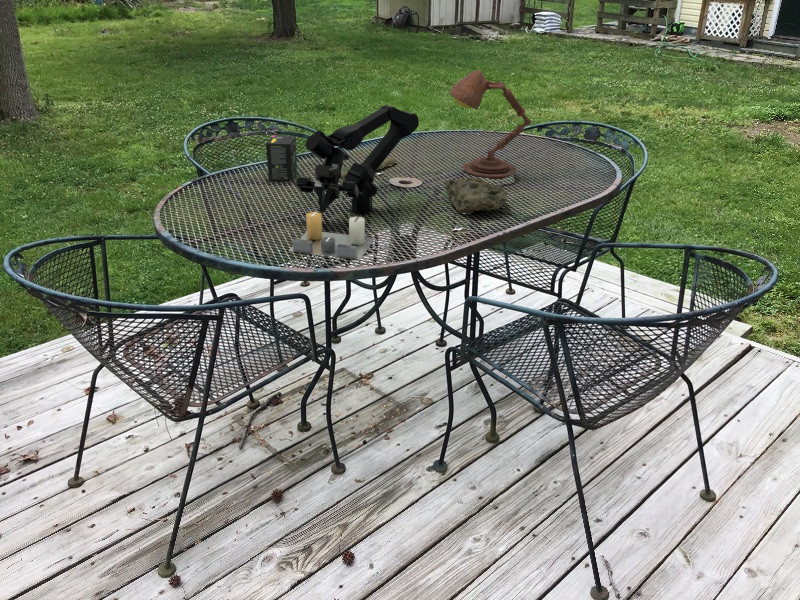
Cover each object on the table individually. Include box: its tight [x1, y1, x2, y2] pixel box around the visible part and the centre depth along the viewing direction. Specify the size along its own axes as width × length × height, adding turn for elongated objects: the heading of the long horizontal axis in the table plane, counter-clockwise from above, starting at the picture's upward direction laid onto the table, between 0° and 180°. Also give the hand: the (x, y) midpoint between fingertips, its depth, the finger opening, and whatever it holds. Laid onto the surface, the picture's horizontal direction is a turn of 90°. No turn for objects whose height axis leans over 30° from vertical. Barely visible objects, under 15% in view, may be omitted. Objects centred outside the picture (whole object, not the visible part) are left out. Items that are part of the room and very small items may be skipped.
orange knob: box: [305, 211, 323, 240], centre depth 190 cm, size 4×4×7 cm
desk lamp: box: [449, 69, 532, 179], centre depth 242 cm, size 21×32×40 cm, turn 100°
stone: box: [444, 178, 508, 215], centre depth 221 cm, size 25×19×8 cm
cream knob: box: [348, 216, 365, 245], centre depth 187 cm, size 4×4×7 cm
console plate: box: [288, 231, 375, 260], centre depth 187 cm, size 16×21×4 cm
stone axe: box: [340, 157, 398, 182], centre depth 252 cm, size 26×5×30 cm
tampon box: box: [265, 135, 298, 183], centre depth 242 cm, size 11×9×15 cm
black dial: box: [321, 237, 335, 252], centre depth 184 cm, size 4×4×3 cm
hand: (321, 212), depth 195 cm, fingers closed
